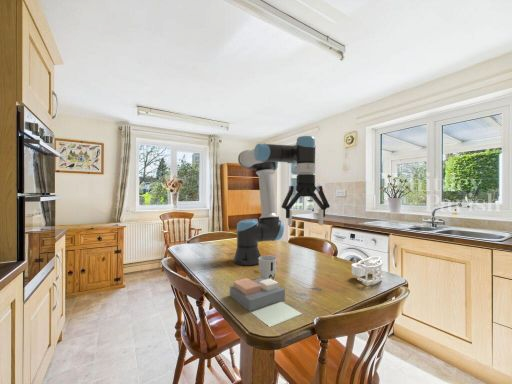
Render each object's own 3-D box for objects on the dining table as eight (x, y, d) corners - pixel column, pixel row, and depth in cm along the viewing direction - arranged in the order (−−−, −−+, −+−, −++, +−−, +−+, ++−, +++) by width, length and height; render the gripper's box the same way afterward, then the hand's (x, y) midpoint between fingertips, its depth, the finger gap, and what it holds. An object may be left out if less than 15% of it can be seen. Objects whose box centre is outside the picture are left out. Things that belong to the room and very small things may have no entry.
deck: (230, 296, 88) (229, 286, 88) (262, 287, 97) (262, 277, 97) (250, 312, 77) (250, 300, 77) (284, 300, 85) (284, 289, 85)
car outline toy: (368, 268, 120) (368, 254, 120) (392, 275, 111) (392, 259, 111) (347, 278, 107) (347, 262, 107) (371, 285, 99) (371, 268, 99)
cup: (271, 285, 99) (271, 261, 99) (255, 281, 103) (254, 258, 103) (279, 279, 106) (279, 257, 106) (264, 275, 110) (264, 254, 110)
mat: (250, 313, 76) (250, 312, 76) (281, 302, 84) (281, 301, 84) (269, 328, 68) (269, 326, 68) (301, 314, 75) (301, 313, 75)
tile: (233, 286, 88) (233, 281, 88) (247, 283, 91) (247, 277, 91) (246, 295, 81) (246, 289, 81) (260, 291, 84) (260, 285, 84)
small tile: (259, 286, 88) (259, 281, 88) (270, 283, 91) (270, 278, 91) (267, 291, 84) (267, 285, 84) (278, 287, 87) (278, 282, 87)
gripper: (279, 173, 92) (279, 227, 92) (338, 174, 96) (338, 225, 96) (274, 174, 99) (274, 224, 99) (329, 175, 103) (329, 223, 104)
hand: (305, 225), depth 98 cm, fingers open, 13 cm apart
